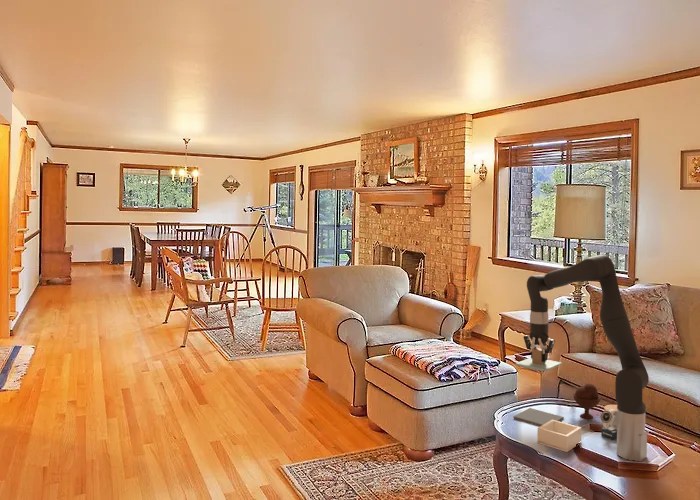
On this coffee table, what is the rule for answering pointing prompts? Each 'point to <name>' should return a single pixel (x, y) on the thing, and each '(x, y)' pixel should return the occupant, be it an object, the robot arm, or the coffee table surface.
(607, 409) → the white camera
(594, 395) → the ice cream bowl
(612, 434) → the watch
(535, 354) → the lid
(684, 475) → the coffee table surface
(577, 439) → the cream open storage box
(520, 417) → the mat
